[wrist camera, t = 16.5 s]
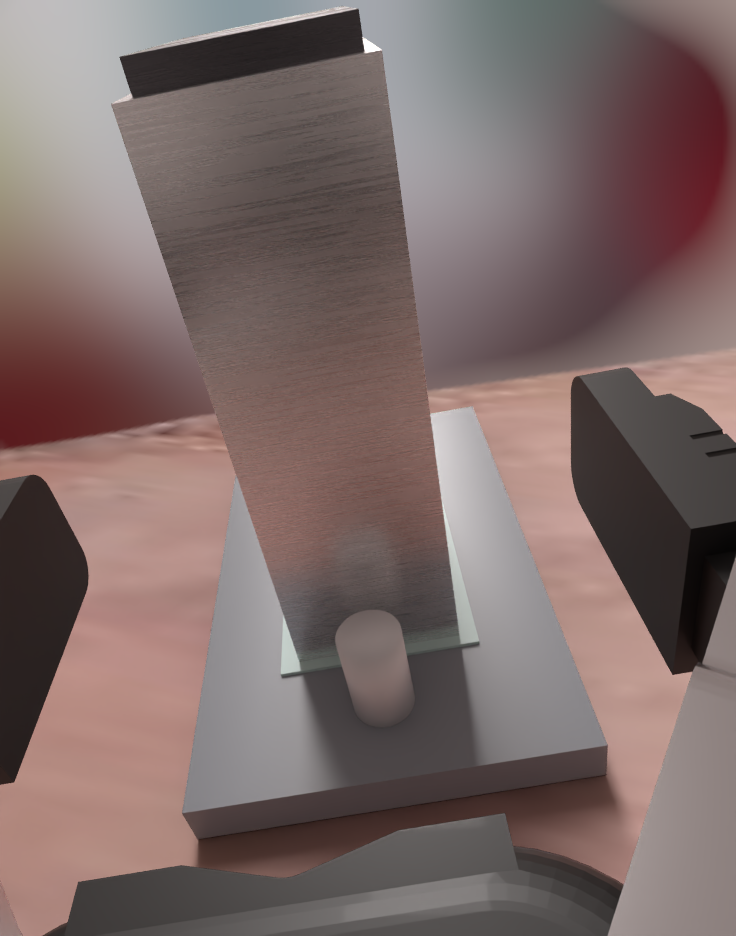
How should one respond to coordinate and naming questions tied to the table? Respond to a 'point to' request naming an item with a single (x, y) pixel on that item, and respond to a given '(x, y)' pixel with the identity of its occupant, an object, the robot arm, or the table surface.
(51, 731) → the table surface
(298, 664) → the pin tray
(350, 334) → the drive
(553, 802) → the table surface
